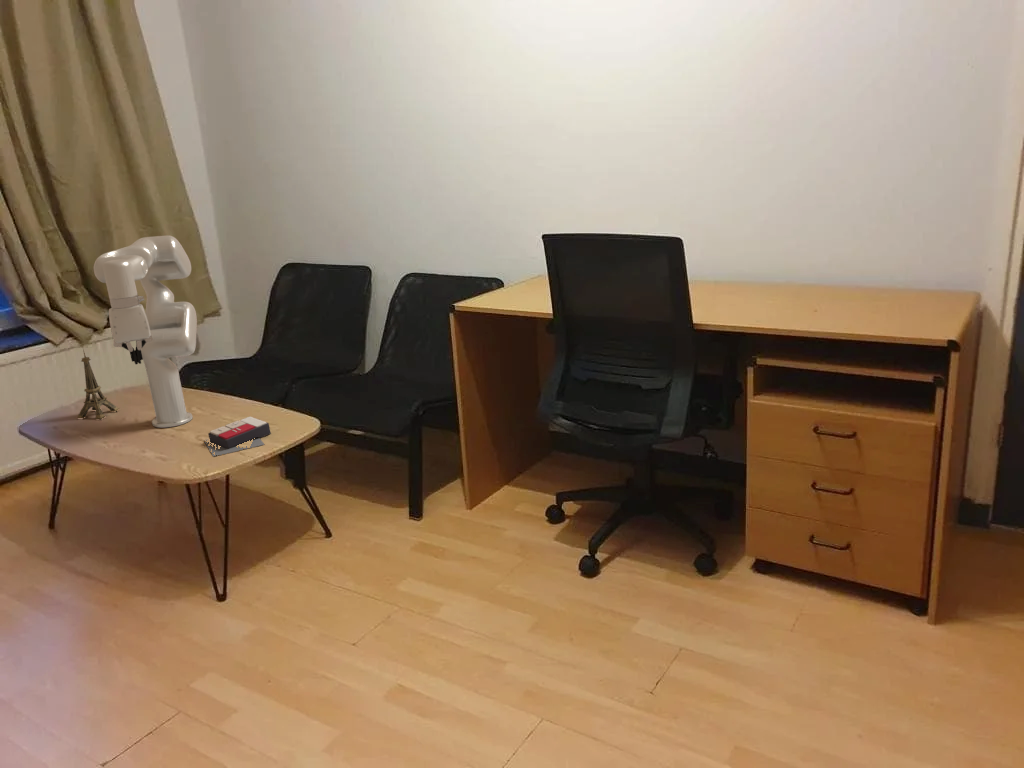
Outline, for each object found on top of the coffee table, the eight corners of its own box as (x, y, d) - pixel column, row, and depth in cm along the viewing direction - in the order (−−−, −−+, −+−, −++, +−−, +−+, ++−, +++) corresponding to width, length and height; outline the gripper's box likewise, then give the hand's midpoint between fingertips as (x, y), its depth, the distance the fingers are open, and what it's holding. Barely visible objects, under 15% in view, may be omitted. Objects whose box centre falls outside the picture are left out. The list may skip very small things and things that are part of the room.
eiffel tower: (96, 409, 288) (80, 342, 280) (121, 409, 285) (106, 342, 278) (75, 420, 278) (58, 350, 270) (101, 420, 275) (85, 350, 268)
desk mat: (203, 440, 250) (203, 440, 250) (252, 429, 257) (252, 429, 257) (213, 456, 236) (213, 456, 236) (264, 444, 243) (264, 444, 243)
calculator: (206, 430, 247) (250, 414, 257) (210, 443, 248) (252, 426, 259) (224, 438, 240) (268, 420, 250) (228, 451, 241) (271, 433, 251)
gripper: (150, 296, 240) (162, 355, 246) (95, 304, 233) (109, 365, 239) (154, 300, 234) (166, 360, 239) (97, 308, 227) (111, 370, 232)
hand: (137, 362), depth 239 cm, fingers closed
